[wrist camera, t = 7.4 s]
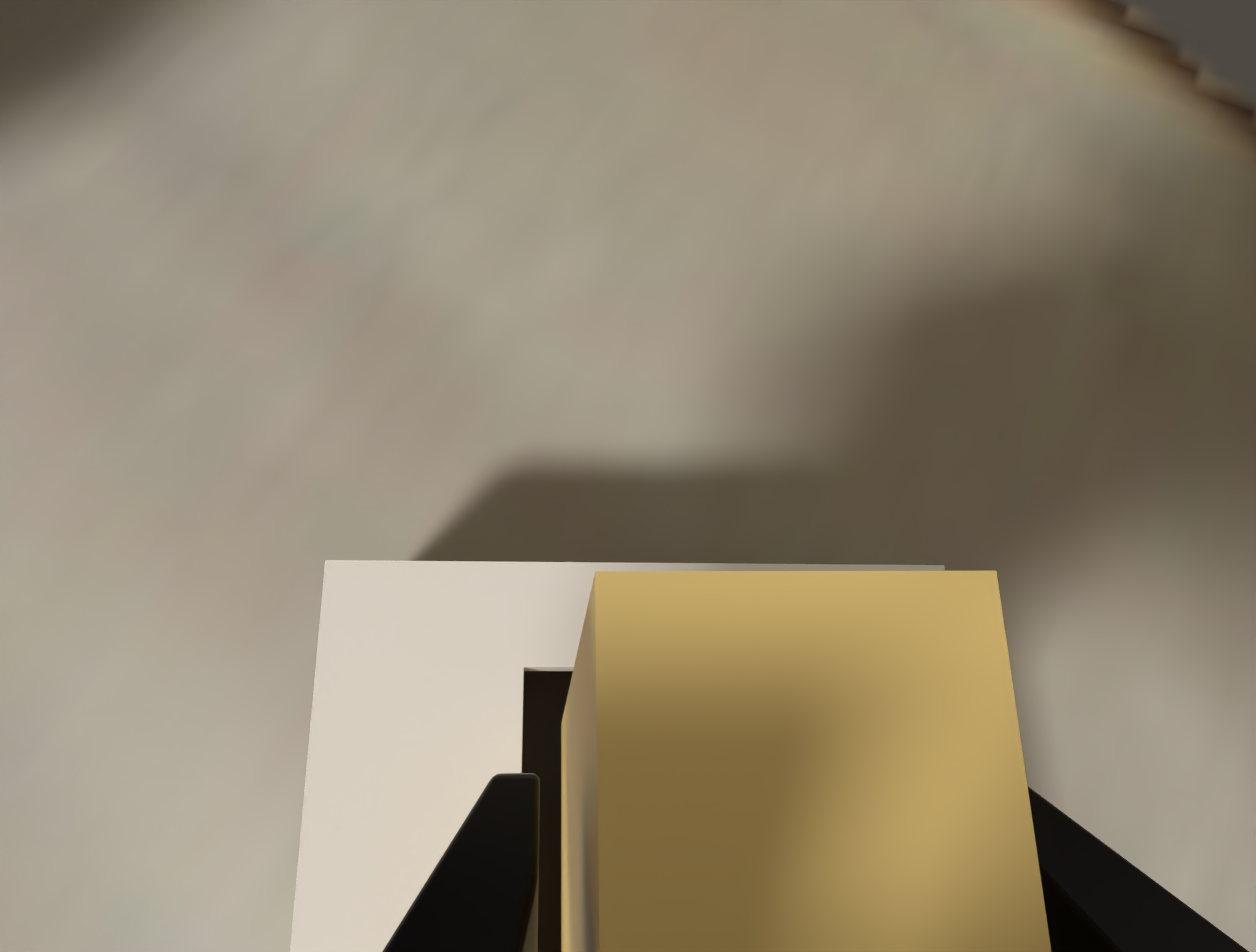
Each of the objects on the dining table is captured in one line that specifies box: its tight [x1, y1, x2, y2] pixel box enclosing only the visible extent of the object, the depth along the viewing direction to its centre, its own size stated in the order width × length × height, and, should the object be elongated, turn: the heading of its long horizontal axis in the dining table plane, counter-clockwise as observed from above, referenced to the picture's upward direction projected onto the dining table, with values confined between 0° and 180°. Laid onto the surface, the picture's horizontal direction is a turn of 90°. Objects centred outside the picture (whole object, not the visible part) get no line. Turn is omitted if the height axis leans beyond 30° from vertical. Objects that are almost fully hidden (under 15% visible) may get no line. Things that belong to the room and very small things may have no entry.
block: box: [561, 571, 1051, 952], centre depth 12 cm, size 6×3×12 cm, turn 1°
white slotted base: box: [290, 560, 945, 952], centre depth 19 cm, size 12×12×4 cm
